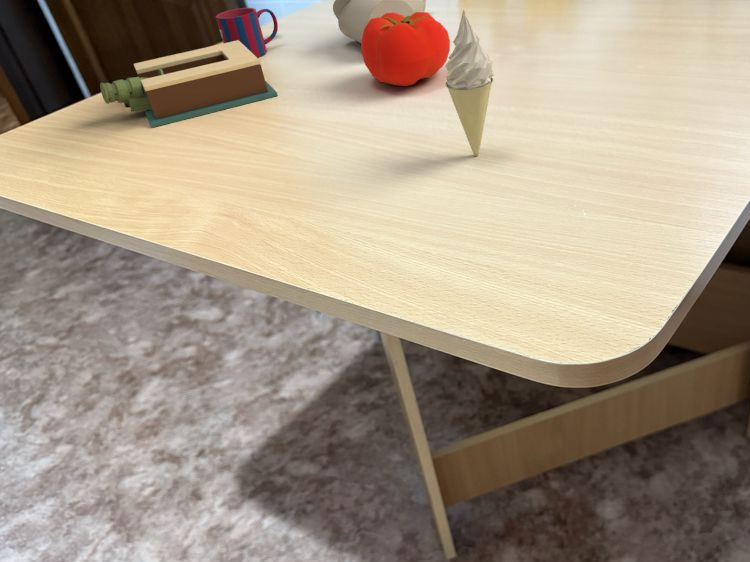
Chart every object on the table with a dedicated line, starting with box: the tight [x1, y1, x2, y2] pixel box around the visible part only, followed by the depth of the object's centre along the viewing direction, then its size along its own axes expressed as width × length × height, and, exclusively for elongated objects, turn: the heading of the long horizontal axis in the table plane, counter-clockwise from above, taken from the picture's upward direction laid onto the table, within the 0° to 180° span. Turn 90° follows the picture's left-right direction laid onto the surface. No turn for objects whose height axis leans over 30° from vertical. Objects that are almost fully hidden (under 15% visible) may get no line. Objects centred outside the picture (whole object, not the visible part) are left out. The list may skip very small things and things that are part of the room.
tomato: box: [360, 11, 451, 87], centre depth 97 cm, size 14×13×9 cm
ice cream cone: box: [444, 9, 495, 157], centre depth 72 cm, size 5×5×15 cm
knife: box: [99, 69, 164, 113], centre depth 101 cm, size 4×18×5 cm, turn 128°
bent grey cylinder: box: [332, 0, 427, 44], centre depth 115 cm, size 18×10×20 cm
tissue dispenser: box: [133, 40, 278, 128], centre depth 102 cm, size 18×16×5 cm
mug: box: [215, 7, 279, 59], centre depth 118 cm, size 7×10×7 cm
